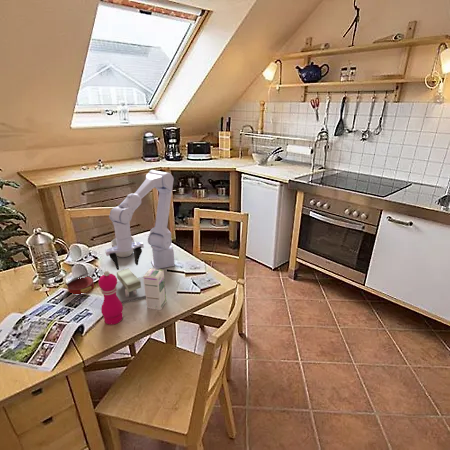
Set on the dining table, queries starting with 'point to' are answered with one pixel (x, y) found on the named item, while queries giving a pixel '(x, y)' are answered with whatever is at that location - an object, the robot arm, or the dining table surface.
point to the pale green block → (128, 280)
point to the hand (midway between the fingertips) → (127, 266)
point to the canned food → (80, 284)
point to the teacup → (122, 254)
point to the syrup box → (155, 288)
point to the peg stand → (130, 296)
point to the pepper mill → (110, 299)
